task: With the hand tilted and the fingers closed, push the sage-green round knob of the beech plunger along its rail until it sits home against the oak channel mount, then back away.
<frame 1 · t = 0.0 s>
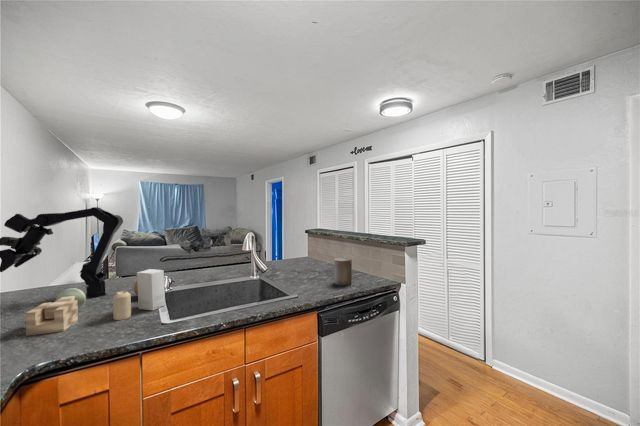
hand: (8, 269, 121), 15 cm above the worktop, tool tilted 35°, fingers open, 9 cm apart
candle: (122, 317, 107), on the worktop
onion: (146, 297, 130), on the worktop
pillar candle: (342, 283, 154), on the worktop
plunger: (62, 305, 104), point 6 cm above the worktop, slide at 6.0 cm
skincare box: (151, 307, 117), on the worktop
mount: (53, 327, 99), on the worktop
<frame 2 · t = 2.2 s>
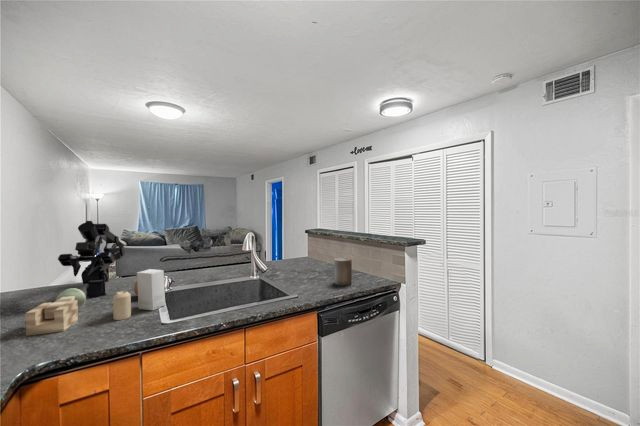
hand: (81, 275, 118), 13 cm above the worktop, tool tilted 45°, fingers open, 4 cm apart
nothing on the worktop moved.
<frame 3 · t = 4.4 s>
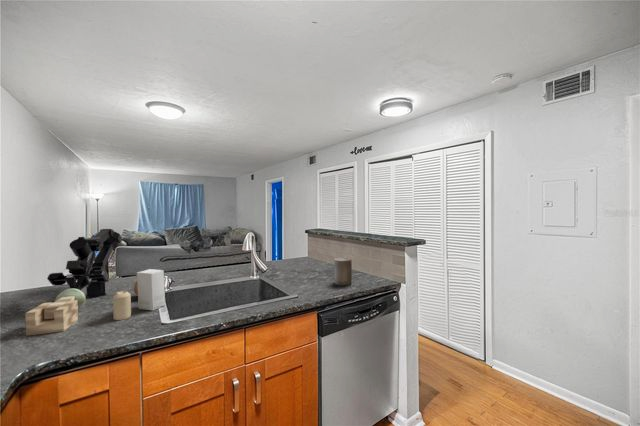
hand: (72, 296, 111), 7 cm above the worktop, tool tilted 45°, fingers closed, pressing on plunger
plunger: (62, 305, 104), point 5 cm above the worktop, slide at 5.7 cm, touching gripper
everything else where it was.
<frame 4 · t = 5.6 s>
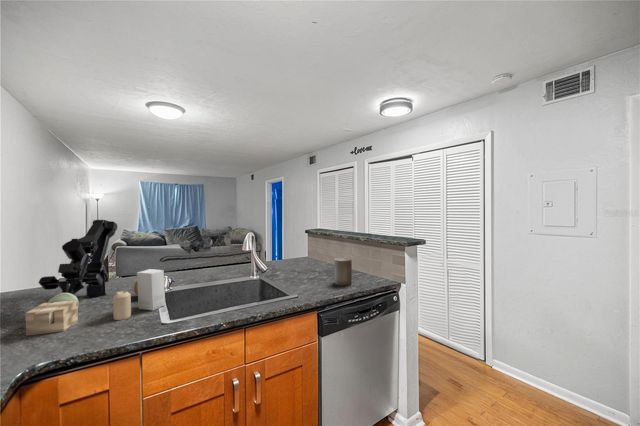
hand: (64, 301, 105), 7 cm above the worktop, tool tilted 45°, fingers closed
plunger: (53, 311, 99), point 6 cm above the worktop, slide at 0.2 cm
everything else where it was.
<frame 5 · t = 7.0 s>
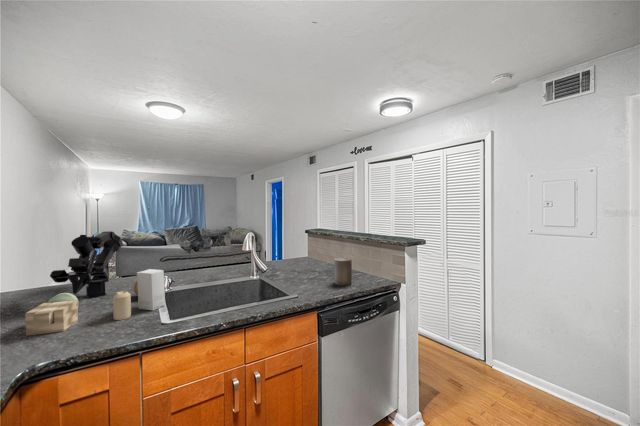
hand: (74, 293, 113), 7 cm above the worktop, tool tilted 45°, fingers closed
nothing on the worktop moved.
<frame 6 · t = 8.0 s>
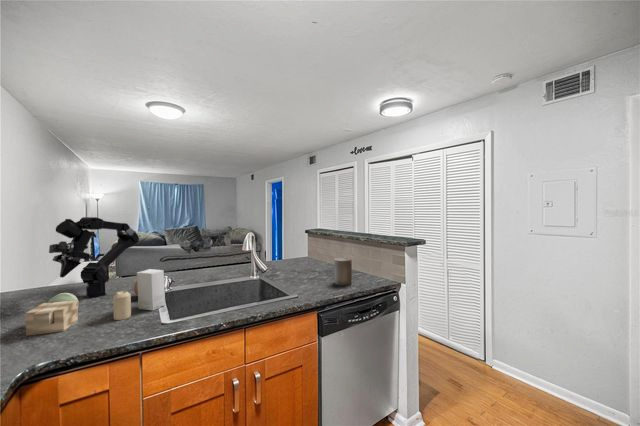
hand: (61, 277, 116), 13 cm above the worktop, tool tilted 30°, fingers closed
nothing on the worktop moved.
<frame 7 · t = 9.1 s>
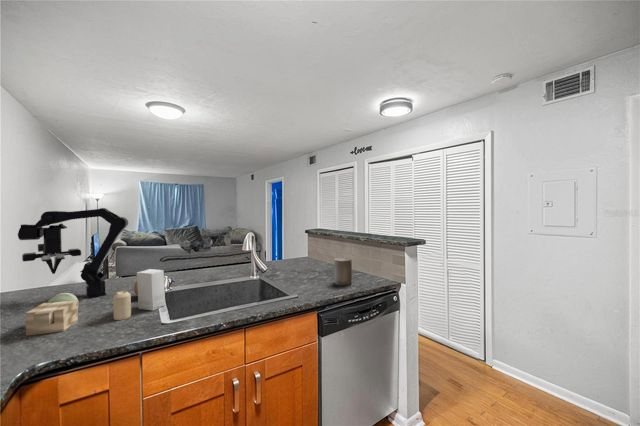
hand: (53, 273, 125), 12 cm above the worktop, tool pointing down, fingers closed
nothing on the worktop moved.
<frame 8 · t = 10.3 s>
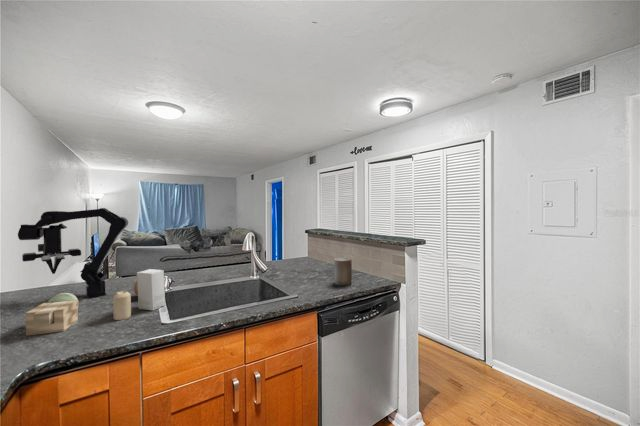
hand: (53, 273, 125), 12 cm above the worktop, tool pointing down, fingers closed
nothing on the worktop moved.
at the end: plunger slide at 0.1 cm; plunger touching nothing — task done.
